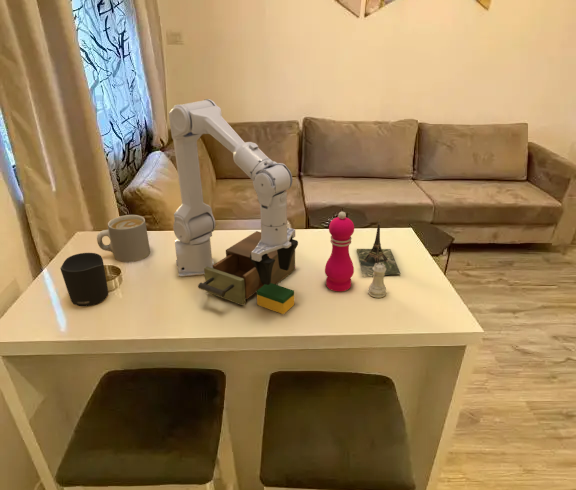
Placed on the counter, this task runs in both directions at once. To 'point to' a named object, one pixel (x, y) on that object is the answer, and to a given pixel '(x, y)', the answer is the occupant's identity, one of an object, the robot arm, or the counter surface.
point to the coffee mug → (126, 238)
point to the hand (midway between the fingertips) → (275, 276)
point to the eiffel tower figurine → (377, 258)
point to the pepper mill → (340, 254)
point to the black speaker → (85, 279)
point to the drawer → (232, 279)
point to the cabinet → (250, 244)
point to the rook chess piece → (378, 282)
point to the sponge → (275, 298)
